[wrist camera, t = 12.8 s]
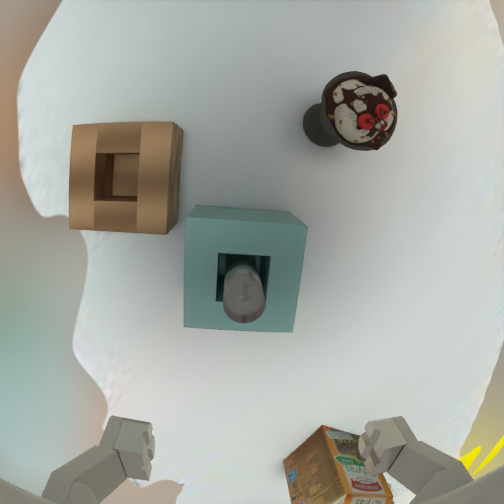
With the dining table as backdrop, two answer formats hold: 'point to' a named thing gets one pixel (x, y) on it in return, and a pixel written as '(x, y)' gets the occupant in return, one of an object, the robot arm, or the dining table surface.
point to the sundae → (353, 112)
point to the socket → (125, 176)
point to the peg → (242, 289)
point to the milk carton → (333, 472)
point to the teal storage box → (248, 243)
